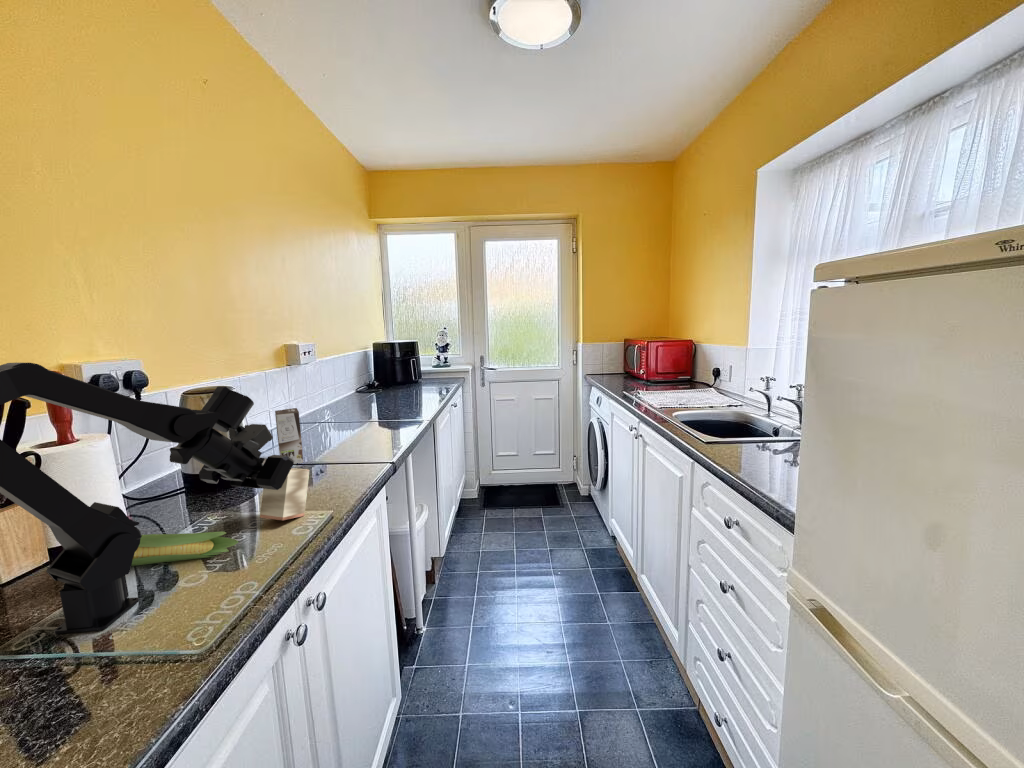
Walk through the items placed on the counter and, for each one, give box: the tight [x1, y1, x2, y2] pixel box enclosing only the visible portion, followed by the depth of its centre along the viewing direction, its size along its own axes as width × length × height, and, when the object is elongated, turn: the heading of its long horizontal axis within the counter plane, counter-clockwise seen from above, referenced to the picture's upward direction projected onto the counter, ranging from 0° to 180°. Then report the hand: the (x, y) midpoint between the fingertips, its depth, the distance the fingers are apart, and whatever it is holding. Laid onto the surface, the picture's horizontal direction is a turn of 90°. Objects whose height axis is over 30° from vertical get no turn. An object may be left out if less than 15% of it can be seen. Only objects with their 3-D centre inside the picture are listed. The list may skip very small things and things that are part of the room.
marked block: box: [259, 467, 310, 521], centre depth 91 cm, size 6×6×10 cm
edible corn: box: [131, 530, 240, 567], centre depth 76 cm, size 5×20×5 cm
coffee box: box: [274, 407, 304, 465], centre depth 131 cm, size 9×6×16 cm
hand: (274, 486), depth 88 cm, fingers closed
